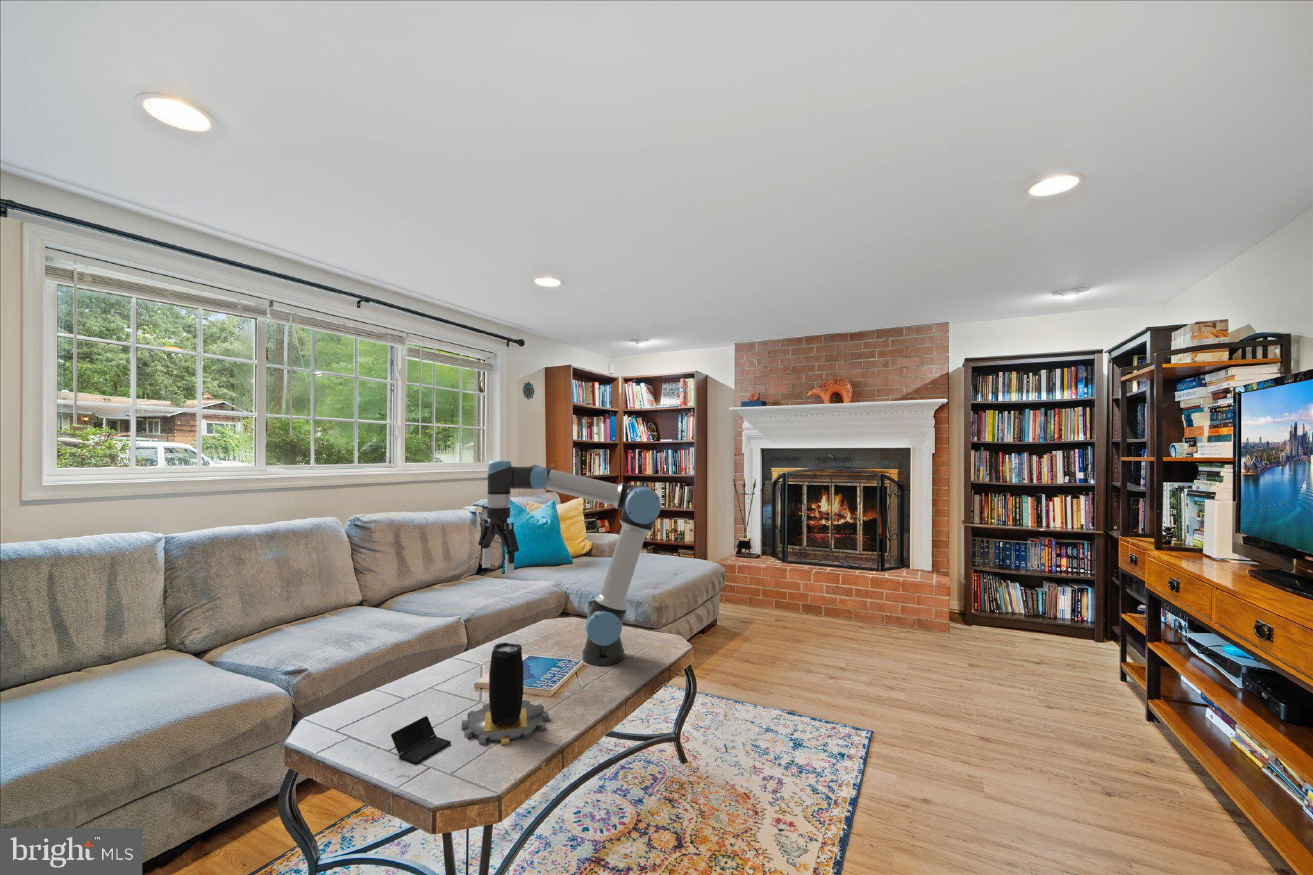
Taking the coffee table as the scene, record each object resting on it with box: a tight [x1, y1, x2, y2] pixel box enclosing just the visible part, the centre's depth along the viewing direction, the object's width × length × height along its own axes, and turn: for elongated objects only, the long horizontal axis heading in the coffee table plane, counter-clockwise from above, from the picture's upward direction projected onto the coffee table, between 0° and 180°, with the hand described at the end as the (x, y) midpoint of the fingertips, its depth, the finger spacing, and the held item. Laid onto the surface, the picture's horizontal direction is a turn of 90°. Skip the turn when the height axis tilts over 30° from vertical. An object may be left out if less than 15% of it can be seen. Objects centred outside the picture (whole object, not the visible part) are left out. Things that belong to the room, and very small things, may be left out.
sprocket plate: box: [461, 699, 550, 746], centre depth 156 cm, size 23×23×2 cm
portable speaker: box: [488, 642, 524, 726], centre depth 155 cm, size 9×9×20 cm
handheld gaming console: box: [390, 715, 452, 765], centre depth 142 cm, size 12×7×10 cm
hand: (497, 570), depth 190 cm, fingers open, 13 cm apart
